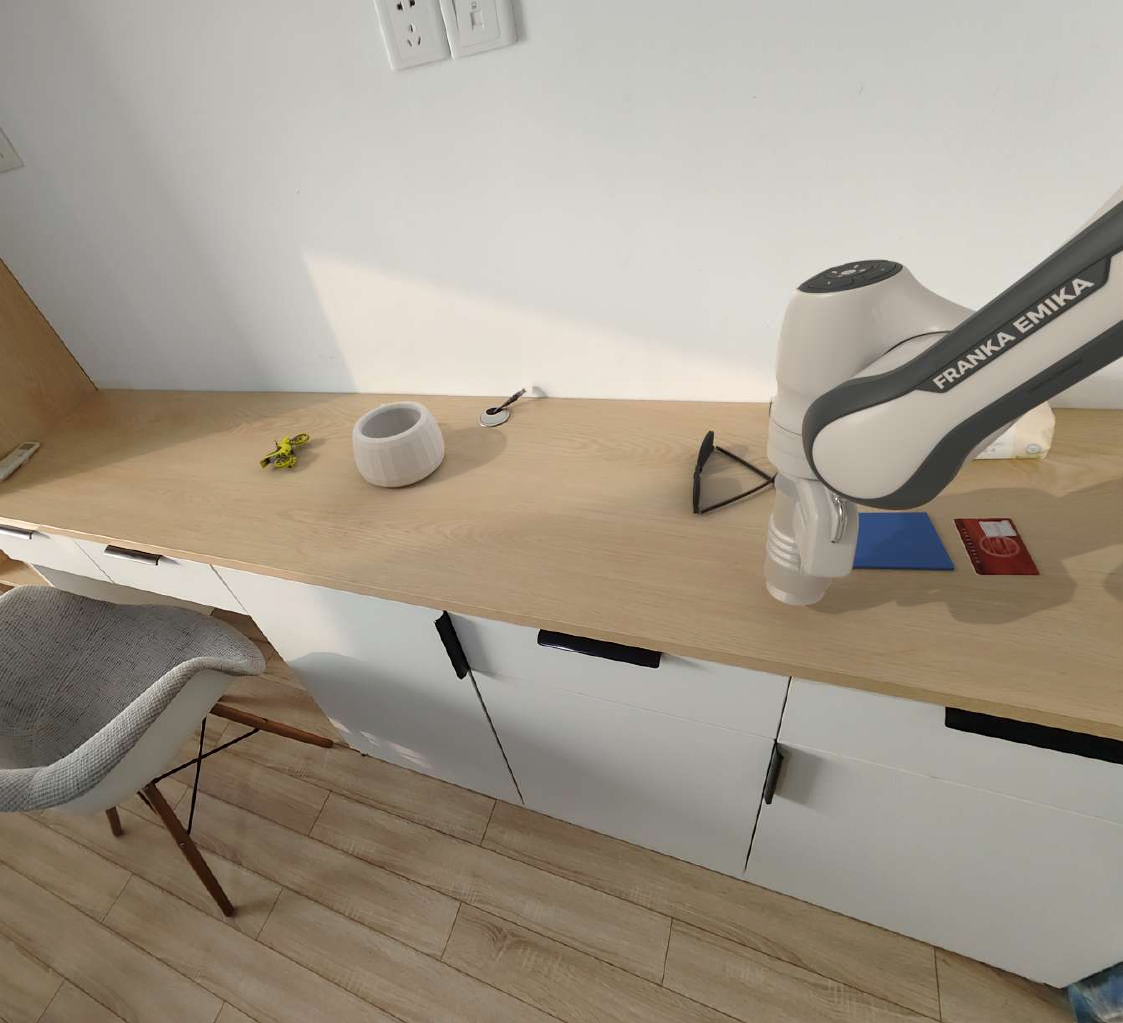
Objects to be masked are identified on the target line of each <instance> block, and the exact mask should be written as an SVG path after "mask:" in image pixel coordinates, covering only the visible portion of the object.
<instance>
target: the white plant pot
mask: <svg viewBox="0 0 1123 1023" xmlns="http://www.w3.org/2000/svg"><path fill="white" fill-rule="evenodd" d="M351 441H352V443H351V444H352V452H353V456H354V457H353V458H354V461H355V465H356V468H357V469H358V472H359V473H360V475H361V476H362V477H363V479H364V480H365V481H367V482H368V483H369V484H372V485H375V486H377V487H382V488H400V487H401V488H402V487H406V486H409V485H413V484H415V483H417V482H420V481H422V480H424V479H425V478H427V477H428V476H430V475H431V474H432V473H433V472H435V471H436V470H437V469H438V468H439V466H440V465H441V463H442V462H443V460H444V457H445V453H446V447H445V446H446V445H445V441H444V437H443V434H442V431H441V428H440V426H439V424H438V422H437V420H436V418H435V416H434V415H433V413H432V412H431V411H430V410H429V409H428V408H427V406H425V405H424V404H422V403H420V402H417V401H411V400H402V401H401V400H400V401H394V402H393V401H392V402H390V403H385V402H381V403H380V404H379V406H377V407H375V408H373V409H370V410H369V411H368V412H366V413H365V414H363V415H362V416H361V417H360V418H359V419H357V421H356V422H355V423H354V426H353V429H352V433H351Z"/></svg>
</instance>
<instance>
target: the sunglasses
mask: <svg viewBox="0 0 1123 1023" xmlns="http://www.w3.org/2000/svg"><path fill="white" fill-rule="evenodd" d="M714 440H715V432H714V431H713V430H709V431H708V432H706V434H705V436H704V438H703V440H702V442H701V445H700V447H699V451H698V455H697V462H696V465H694V466H695V467H694V472H693V477H692V480H693V483H692V484H693V486H692V514H696V515H699V514H700V515H703V514H706V513H708V512H711V511H714V510H717V509H719V508H722V507H723V506H727V505H729V504H732V503H733V502H737V501H739V500H741V499H743V498H745V497H748V496H749V495H752V494H754V493H756V492H758V491H760V490H762V489H763V488H766V487H767V486H768V485H769V484H774V485H775V477H776V475H777V473H778V471H777V472H776V473H775V474H774V475H773V476H772V477H771V476H769V475H768V474H767V473H766V472H764V471H762V470H760V469H759V468H757V467H756V466H754V465H753V464H751V463H750V462H748V461H746V460H745V459H743V458H741V457H739V456H737V455H736V454H734V453H732V452H731V451H728V450H727V449H725V448H722V447H721V446H720V445H714ZM714 450H715V451H718V452H720V453H722V454H723V455H725V456H727V457H729V458H731V459H733V460H734V461H736V462H737V463H740V464H741V465H743V466H745V467H747V468H748V469H750V470H751V471H753V472H754V473H756V474H758V475H759V476H761V477H762V478H764V479H765V480H767V481H765V482H764V483H762V484H760V485H758V486H756V487H754V488H752V489H749V490H747V491H745V492H743V493H741V494H738V495H736V496H733V497H731V498H728V499H726V500H724V501H721V502H718V503H715V504H713V505H711V506H708V507H707V506H706V507H705V508H703V509H701V508H700V506H699V505H700V496H701V487H702V486H701V483H702V482H701V474H702V472H703V470H704V469H703V467H704V466H705V464H706V462H707V461H708V459H709V457H710V455H711V453H712V452H713V451H714Z"/></svg>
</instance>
